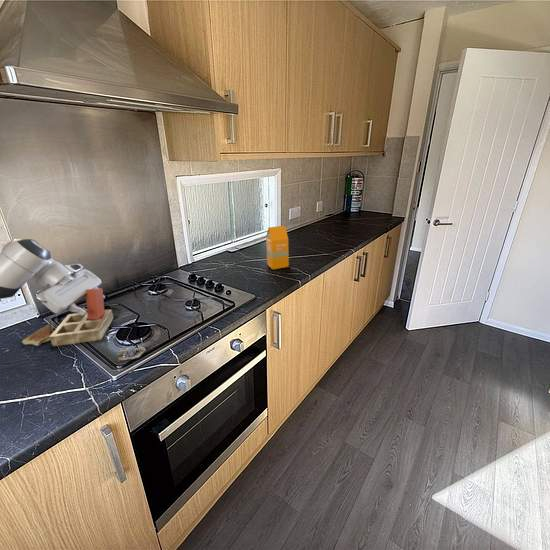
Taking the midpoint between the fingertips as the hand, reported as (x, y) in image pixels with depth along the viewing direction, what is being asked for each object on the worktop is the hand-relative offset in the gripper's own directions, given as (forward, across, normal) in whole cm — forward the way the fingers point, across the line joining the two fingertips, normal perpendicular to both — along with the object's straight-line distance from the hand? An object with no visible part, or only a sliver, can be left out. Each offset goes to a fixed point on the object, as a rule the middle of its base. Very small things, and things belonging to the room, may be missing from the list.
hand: (94, 305), depth 98 cm
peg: (+3, 0, +4) cm, 5 cm away
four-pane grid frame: (+3, -4, +7) cm, 9 cm away
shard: (-6, -8, +16) cm, 19 cm away
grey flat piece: (+19, -15, -8) cm, 26 cm away
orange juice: (+47, +55, -36) cm, 81 cm away
